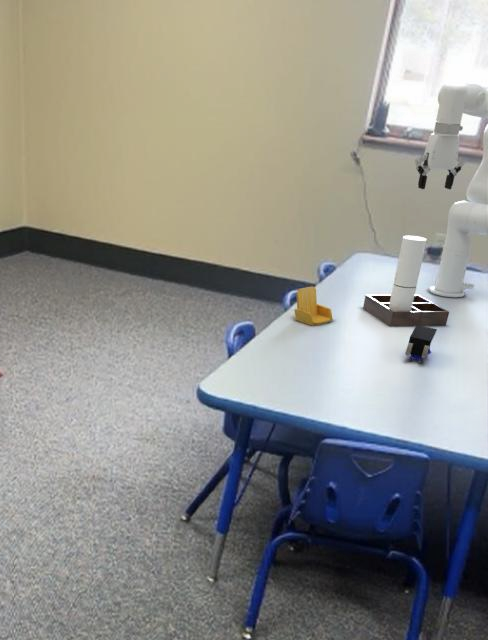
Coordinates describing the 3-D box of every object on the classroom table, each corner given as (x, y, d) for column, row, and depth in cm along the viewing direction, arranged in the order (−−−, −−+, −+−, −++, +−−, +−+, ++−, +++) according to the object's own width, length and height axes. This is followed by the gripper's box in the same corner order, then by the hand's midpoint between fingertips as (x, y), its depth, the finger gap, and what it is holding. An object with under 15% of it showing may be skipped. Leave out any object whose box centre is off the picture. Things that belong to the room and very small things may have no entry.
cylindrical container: (407, 316, 264) (424, 236, 251) (410, 322, 258) (428, 241, 245) (385, 314, 265) (401, 234, 251) (388, 320, 259) (404, 239, 245)
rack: (415, 308, 277) (418, 294, 275) (445, 325, 261) (449, 311, 259) (362, 308, 273) (365, 294, 270) (390, 326, 256) (393, 311, 254)
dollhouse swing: (312, 326, 250) (317, 296, 245) (290, 318, 256) (294, 289, 251) (334, 321, 257) (339, 292, 252) (311, 313, 262) (315, 285, 257)
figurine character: (425, 371, 225) (432, 350, 236) (431, 345, 221) (438, 326, 232) (401, 366, 227) (409, 346, 238) (406, 341, 223) (415, 322, 234)
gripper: (464, 128, 258) (451, 186, 267) (416, 127, 253) (405, 186, 263) (477, 131, 252) (464, 190, 261) (428, 130, 247) (416, 190, 257)
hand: (434, 188), depth 262 cm, fingers open, 9 cm apart
